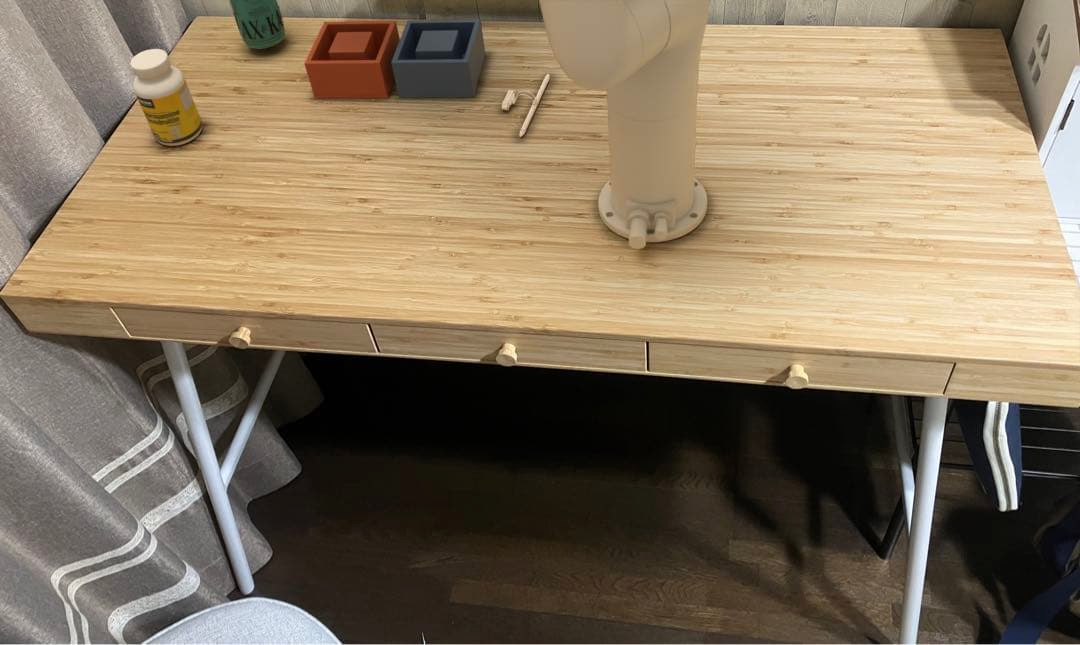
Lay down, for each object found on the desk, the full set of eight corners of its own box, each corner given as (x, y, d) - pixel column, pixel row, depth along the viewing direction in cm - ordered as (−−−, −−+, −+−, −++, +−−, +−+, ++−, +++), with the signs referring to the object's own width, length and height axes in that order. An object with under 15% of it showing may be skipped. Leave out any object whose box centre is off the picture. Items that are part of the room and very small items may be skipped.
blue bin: (474, 97, 136) (468, 61, 132) (399, 98, 137) (391, 62, 133) (485, 54, 143) (480, 19, 139) (414, 55, 144) (407, 20, 140)
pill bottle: (146, 142, 135) (111, 68, 127) (176, 115, 139) (145, 41, 131) (183, 152, 133) (151, 77, 125) (213, 124, 137) (184, 49, 128)
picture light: (523, 139, 129) (521, 125, 127) (490, 136, 130) (488, 122, 128) (551, 76, 138) (550, 63, 136) (521, 74, 139) (519, 60, 137)
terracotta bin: (387, 98, 137) (379, 62, 133) (314, 98, 139) (304, 63, 135) (403, 55, 144) (395, 20, 140) (333, 56, 146) (324, 21, 142)
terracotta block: (371, 83, 139) (363, 51, 136) (336, 83, 140) (328, 52, 136) (379, 62, 143) (372, 31, 139) (345, 63, 143) (337, 32, 140)
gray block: (457, 82, 138) (451, 50, 134) (421, 82, 138) (415, 51, 135) (463, 61, 141) (458, 30, 137) (428, 62, 142) (422, 30, 138)
